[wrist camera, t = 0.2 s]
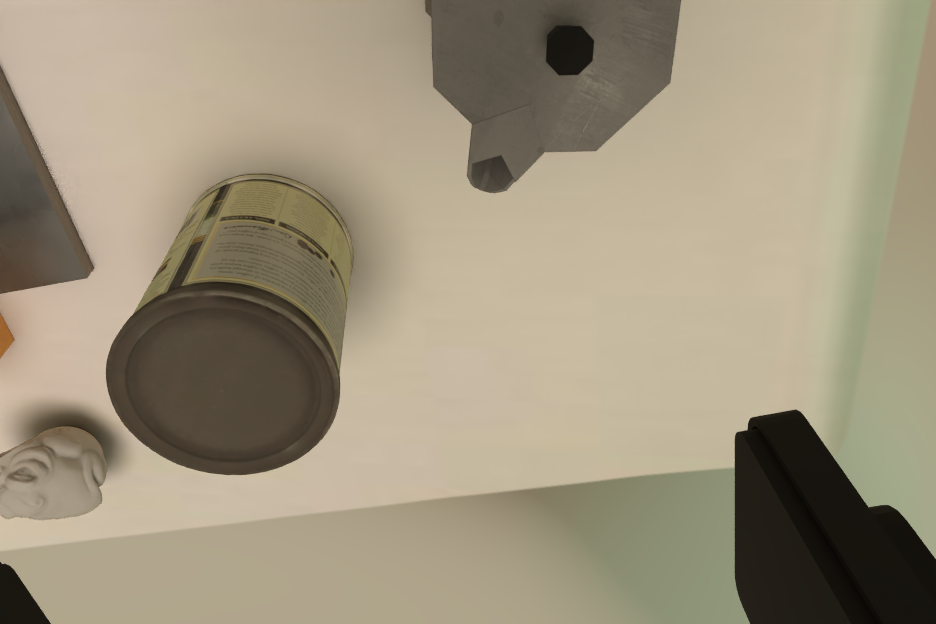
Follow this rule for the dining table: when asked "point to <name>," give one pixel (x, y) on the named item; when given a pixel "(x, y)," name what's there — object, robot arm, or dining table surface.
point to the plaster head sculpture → (52, 475)
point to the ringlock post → (32, 211)
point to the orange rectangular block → (4, 337)
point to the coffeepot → (547, 74)
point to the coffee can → (239, 331)
